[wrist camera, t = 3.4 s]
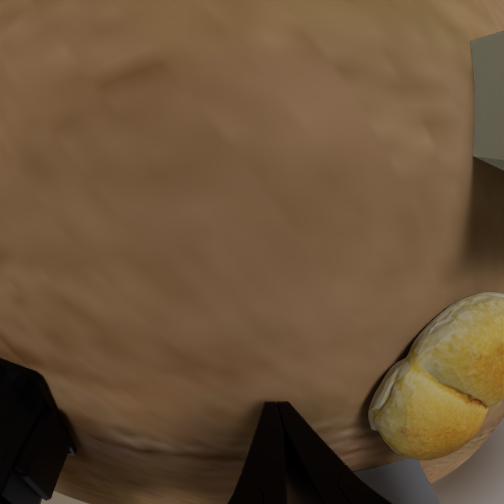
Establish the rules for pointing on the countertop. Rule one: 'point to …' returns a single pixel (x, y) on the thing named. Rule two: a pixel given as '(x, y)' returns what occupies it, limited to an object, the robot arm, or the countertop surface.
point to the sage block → (489, 98)
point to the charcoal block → (400, 482)
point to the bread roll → (444, 381)
